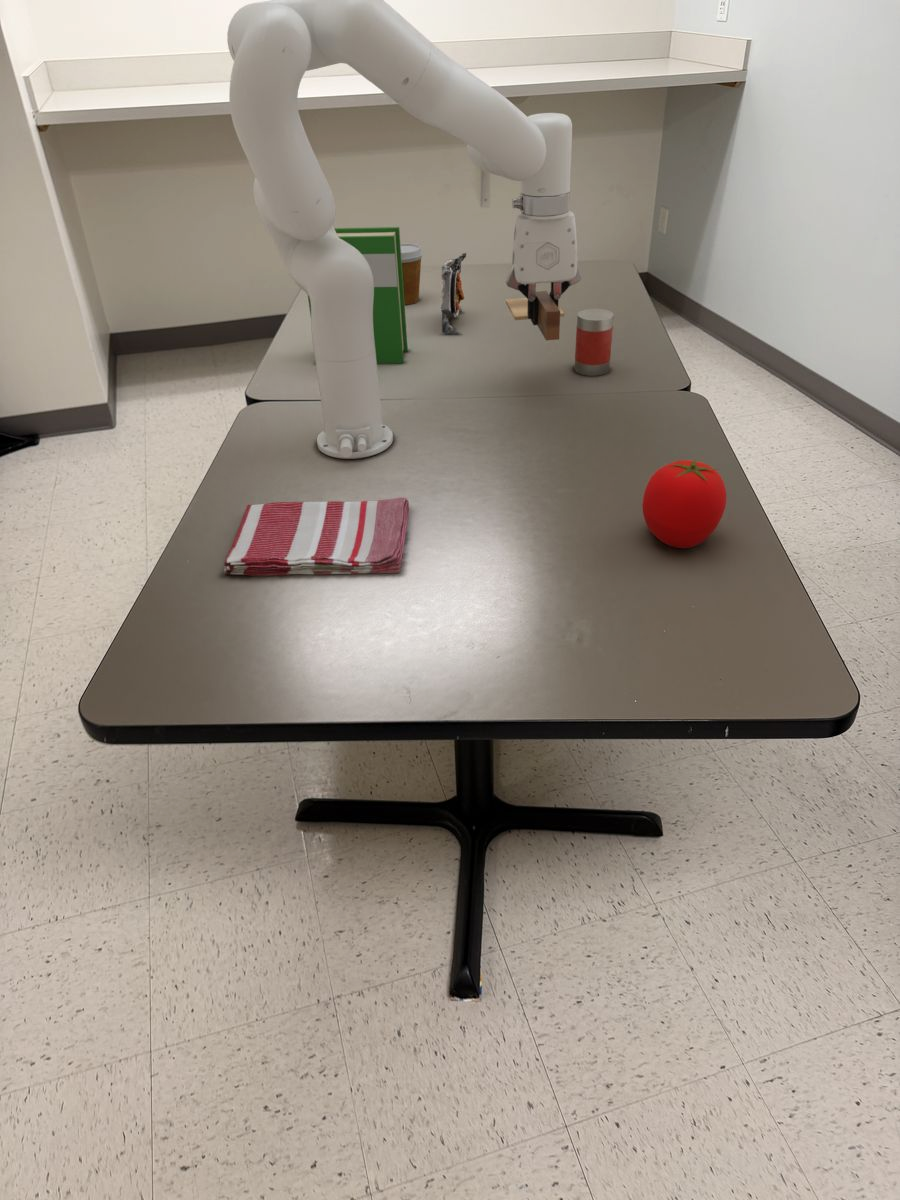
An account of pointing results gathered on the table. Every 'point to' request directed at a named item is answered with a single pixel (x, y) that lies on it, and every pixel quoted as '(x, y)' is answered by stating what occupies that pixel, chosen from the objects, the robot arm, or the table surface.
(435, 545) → the table surface
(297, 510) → the dish towel
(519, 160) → the robot arm
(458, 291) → the meal
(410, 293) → the disposable coffee cup
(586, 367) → the tin can
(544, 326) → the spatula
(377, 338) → the hardback book
